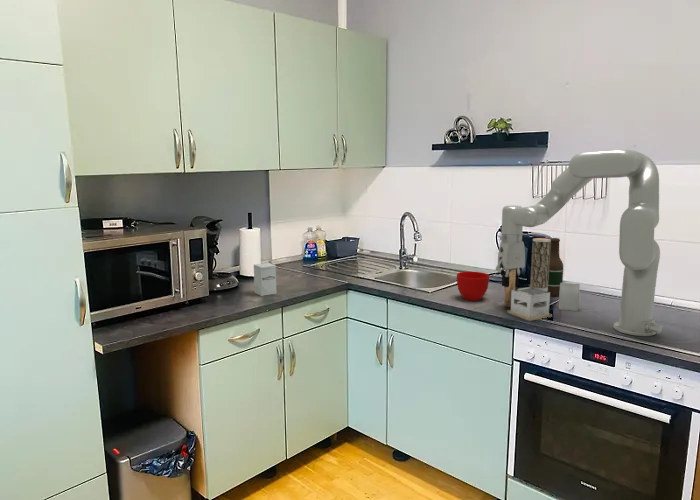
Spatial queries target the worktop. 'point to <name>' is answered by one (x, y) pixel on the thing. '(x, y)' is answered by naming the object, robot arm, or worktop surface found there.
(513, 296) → the collar stand
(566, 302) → the light gray block
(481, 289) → the ceramic cup
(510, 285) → the wooden post
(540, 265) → the wooden log
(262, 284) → the supplement box
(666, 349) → the worktop surface
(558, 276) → the beer bottle
